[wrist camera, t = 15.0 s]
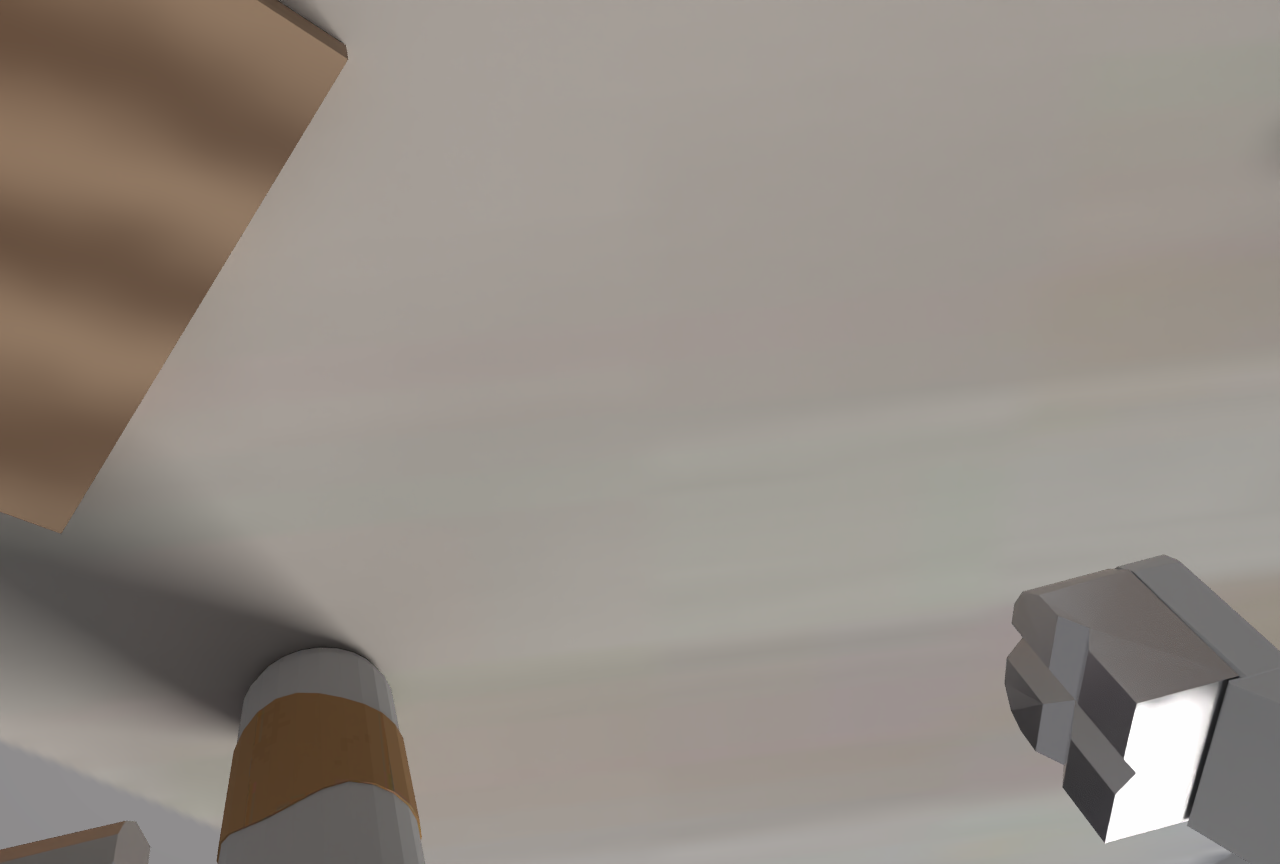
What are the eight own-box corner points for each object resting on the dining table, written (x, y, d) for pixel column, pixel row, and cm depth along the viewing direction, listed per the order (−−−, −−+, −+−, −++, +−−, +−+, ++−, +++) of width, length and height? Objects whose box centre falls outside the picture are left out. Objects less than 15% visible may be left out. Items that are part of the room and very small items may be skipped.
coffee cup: (284, 791, 51) (280, 1119, 39) (178, 681, 47) (134, 1014, 34) (445, 712, 51) (492, 1014, 39) (355, 594, 47) (376, 895, 34)
